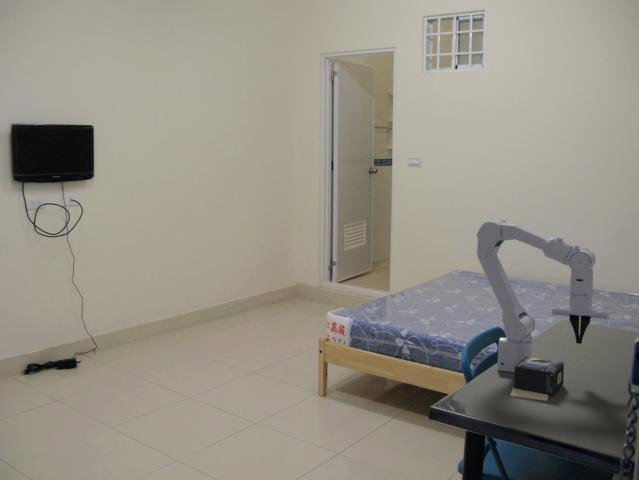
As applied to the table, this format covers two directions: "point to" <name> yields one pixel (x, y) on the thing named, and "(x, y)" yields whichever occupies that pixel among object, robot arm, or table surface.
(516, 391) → the mat
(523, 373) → the small box
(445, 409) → the table surface
